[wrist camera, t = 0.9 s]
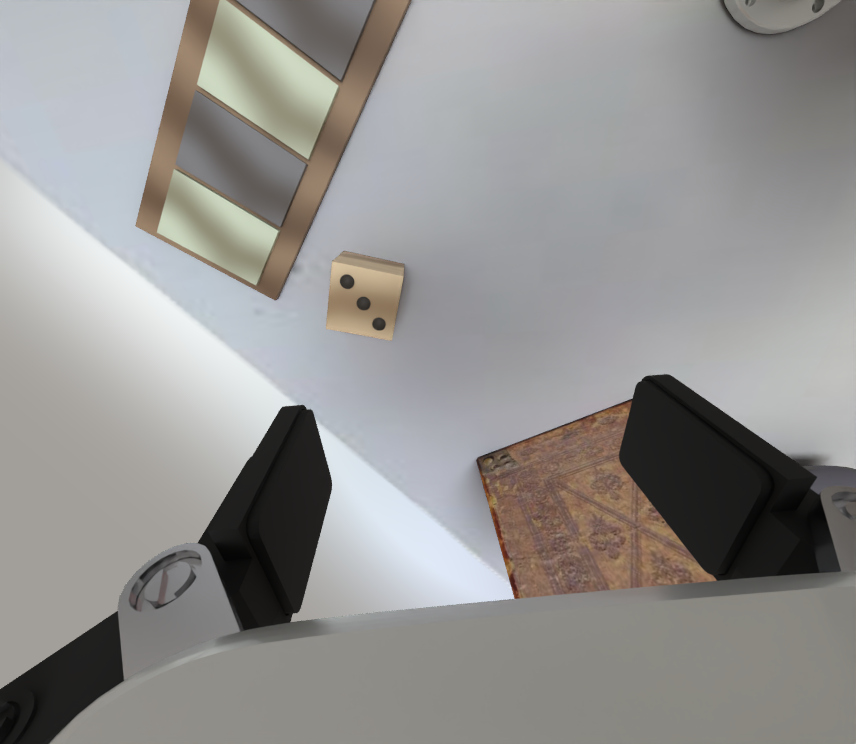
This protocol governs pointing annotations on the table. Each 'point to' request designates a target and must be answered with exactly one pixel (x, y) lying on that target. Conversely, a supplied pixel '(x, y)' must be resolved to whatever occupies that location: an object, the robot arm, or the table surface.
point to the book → (579, 514)
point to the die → (364, 295)
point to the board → (260, 126)
